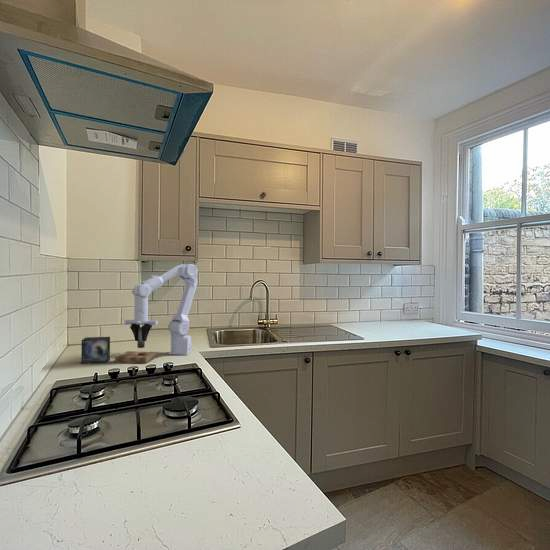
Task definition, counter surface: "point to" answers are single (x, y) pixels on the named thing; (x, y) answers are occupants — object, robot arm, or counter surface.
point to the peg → (140, 338)
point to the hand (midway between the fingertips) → (140, 340)
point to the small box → (95, 350)
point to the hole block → (135, 357)
